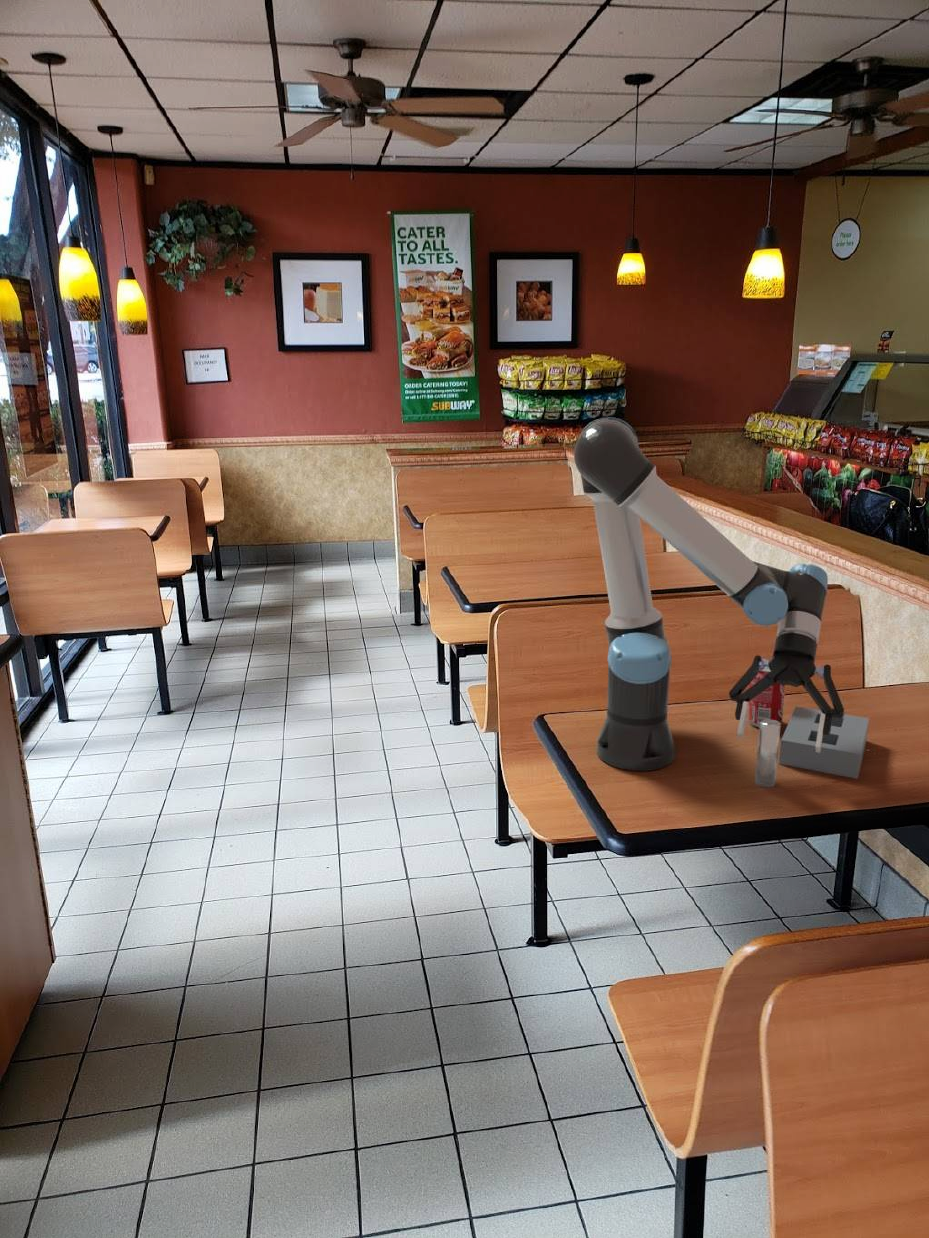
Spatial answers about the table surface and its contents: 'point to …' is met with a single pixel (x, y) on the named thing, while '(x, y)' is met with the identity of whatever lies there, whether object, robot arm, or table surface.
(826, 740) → the hole block
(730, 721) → the table surface
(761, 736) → the peg
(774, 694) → the soda can
